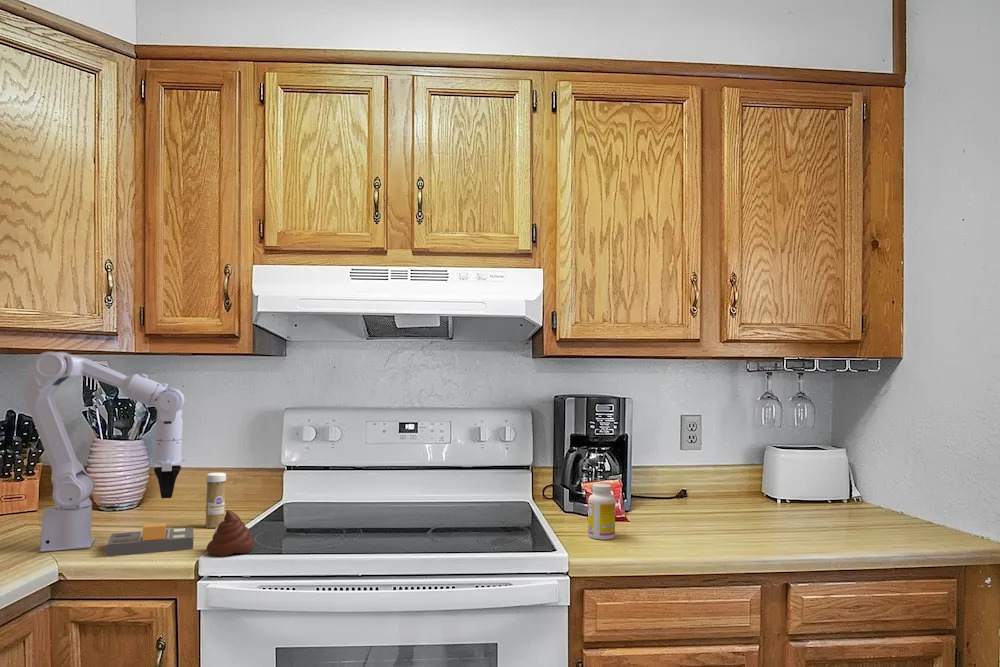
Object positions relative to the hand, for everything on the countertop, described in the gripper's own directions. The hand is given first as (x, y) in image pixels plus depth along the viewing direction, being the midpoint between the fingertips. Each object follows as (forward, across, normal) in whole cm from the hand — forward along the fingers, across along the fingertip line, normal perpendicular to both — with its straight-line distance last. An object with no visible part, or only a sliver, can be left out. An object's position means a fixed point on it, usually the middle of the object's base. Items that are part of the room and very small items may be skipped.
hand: (166, 497), depth 161 cm
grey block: (+10, -5, +2) cm, 11 cm away
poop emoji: (+10, -15, -14) cm, 23 cm away
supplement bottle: (+10, -33, -99) cm, 105 cm away
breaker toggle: (+7, -8, +2) cm, 11 cm away
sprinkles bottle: (+10, +10, -11) cm, 18 cm away
